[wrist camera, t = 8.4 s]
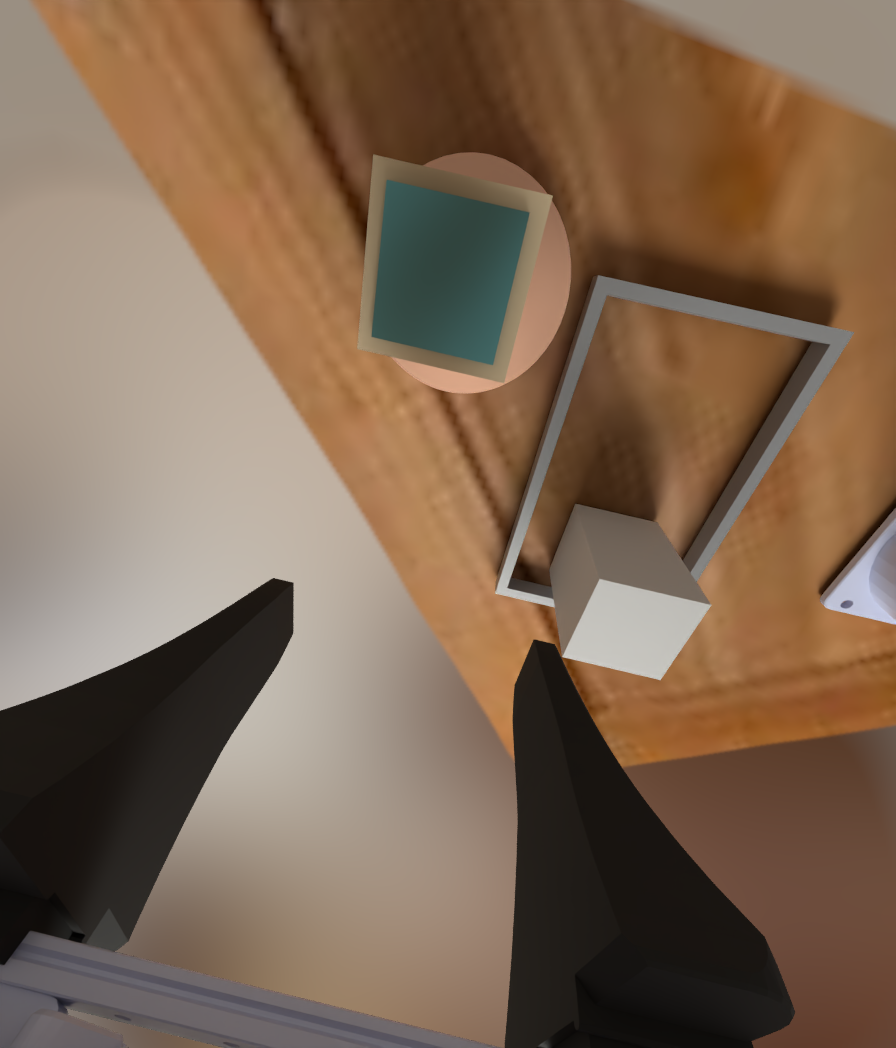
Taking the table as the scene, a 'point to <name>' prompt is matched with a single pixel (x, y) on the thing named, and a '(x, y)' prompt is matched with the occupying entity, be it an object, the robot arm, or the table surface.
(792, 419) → the open rectangular frame
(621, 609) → the grey block
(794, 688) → the table surface
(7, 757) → the robot arm
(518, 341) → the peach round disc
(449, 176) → the tan and teal block
